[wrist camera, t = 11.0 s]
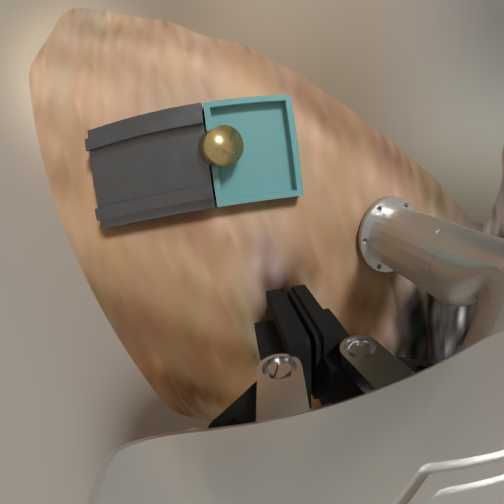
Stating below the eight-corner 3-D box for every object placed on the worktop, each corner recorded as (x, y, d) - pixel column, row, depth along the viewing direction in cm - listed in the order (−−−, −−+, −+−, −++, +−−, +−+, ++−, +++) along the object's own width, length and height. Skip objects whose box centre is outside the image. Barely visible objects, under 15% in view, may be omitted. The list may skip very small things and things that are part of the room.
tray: (287, 97, 33) (290, 94, 32) (299, 194, 38) (303, 195, 36) (203, 105, 33) (203, 102, 31) (217, 205, 37) (217, 207, 35)
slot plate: (201, 106, 32) (200, 100, 29) (215, 205, 37) (215, 209, 34) (93, 132, 31) (84, 129, 28) (107, 226, 35) (99, 230, 32)
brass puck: (227, 126, 33) (238, 122, 31) (236, 161, 35) (247, 159, 33) (194, 133, 31) (203, 128, 29) (204, 171, 33) (213, 169, 31)
